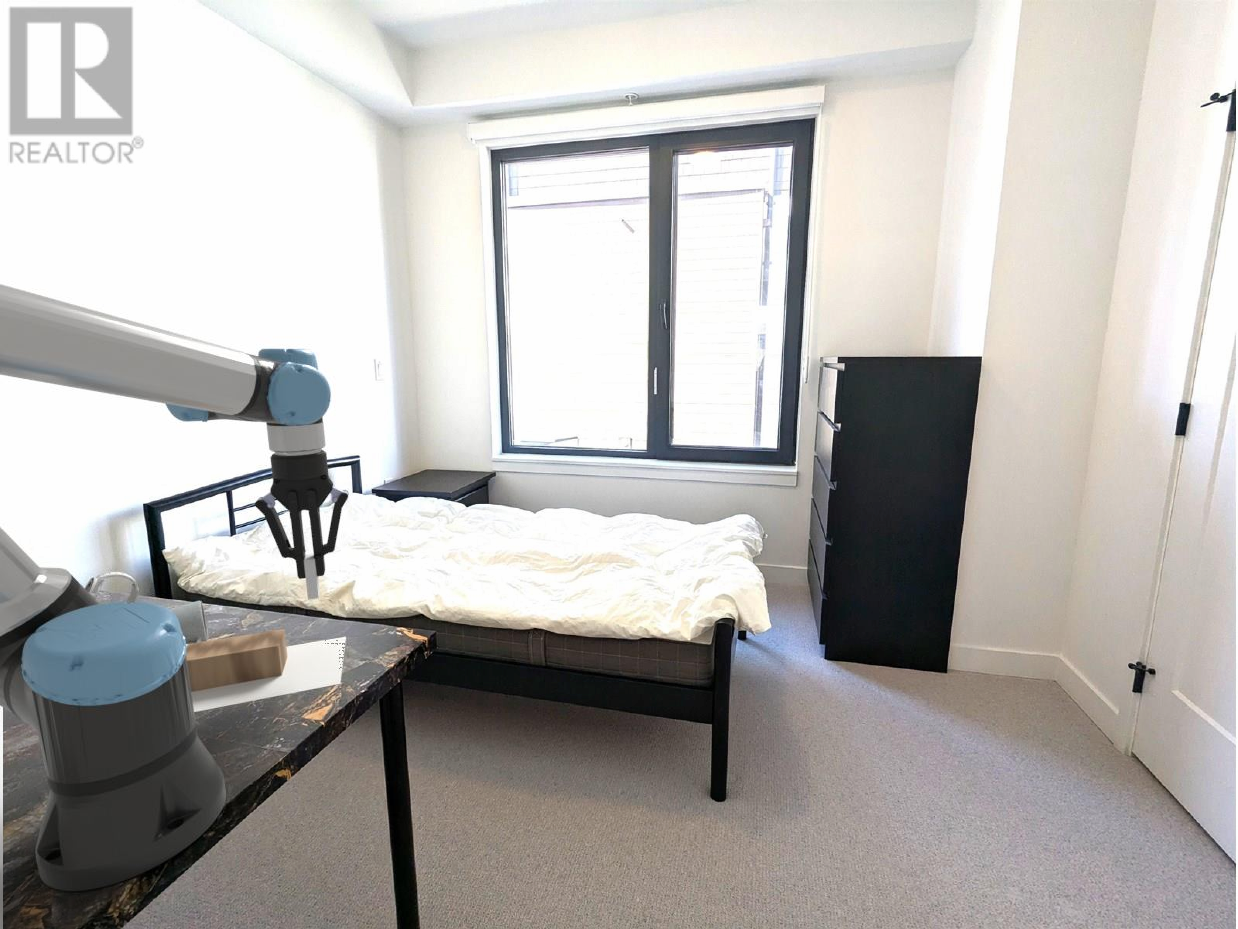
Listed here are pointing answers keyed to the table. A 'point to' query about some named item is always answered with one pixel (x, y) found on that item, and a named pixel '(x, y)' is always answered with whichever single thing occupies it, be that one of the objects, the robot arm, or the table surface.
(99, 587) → the watch
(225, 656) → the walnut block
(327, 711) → the table surface
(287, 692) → the white mat
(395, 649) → the table surface
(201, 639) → the ceramic mug
